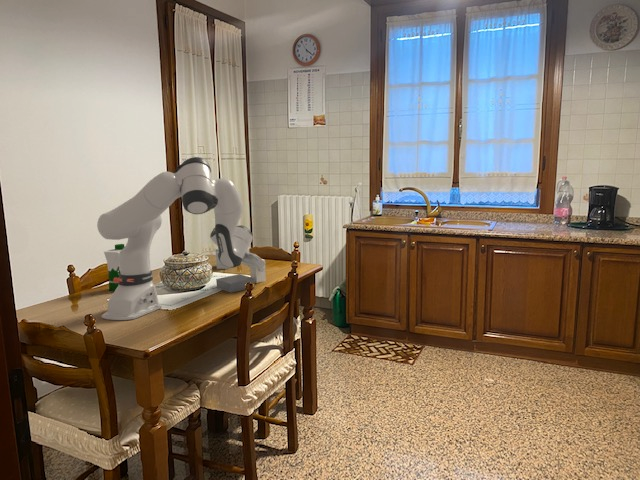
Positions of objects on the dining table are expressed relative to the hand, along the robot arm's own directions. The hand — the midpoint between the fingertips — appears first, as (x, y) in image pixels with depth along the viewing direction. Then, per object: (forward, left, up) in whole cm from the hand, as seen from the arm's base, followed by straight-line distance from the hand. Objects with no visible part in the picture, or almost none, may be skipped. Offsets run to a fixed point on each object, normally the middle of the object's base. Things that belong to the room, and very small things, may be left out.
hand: (258, 269), depth 230 cm
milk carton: (-22, +58, -6) cm, 62 cm away
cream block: (-1, 0, -5) cm, 5 cm away
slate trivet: (-13, +6, -5) cm, 15 cm away
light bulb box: (+26, +29, -6) cm, 40 cm away
